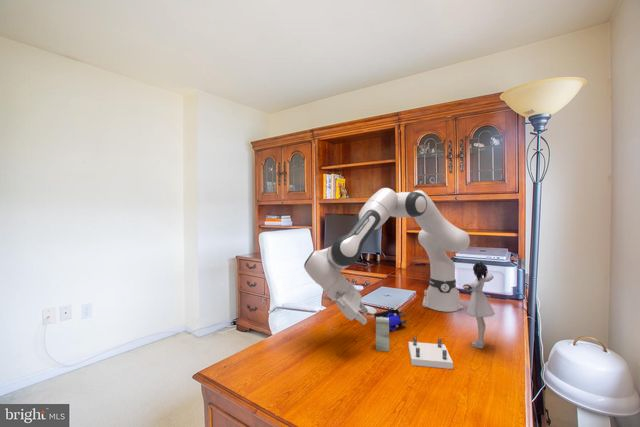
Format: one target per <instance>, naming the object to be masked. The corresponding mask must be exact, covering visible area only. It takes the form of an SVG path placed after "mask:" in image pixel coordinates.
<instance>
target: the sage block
mask: <svg viewBox="0 0 640 427" xmlns="http://www.w3.org/2000/svg"><path fill="white" fill-rule="evenodd" d="M375 351H380V352H390V329H389V318H384V317H376V321H375Z"/></svg>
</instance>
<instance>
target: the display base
mask: <svg viewBox="0 0 640 427" xmlns="http://www.w3.org/2000/svg"><path fill="white" fill-rule="evenodd" d="M412 339H413V341H408V350H409V351H408V352H409V357H410V358H409V359H410V361H411V366H416V367H417V366H418V367H425V368H426V367H427V368H438V369H446V370H447V369H448V370H454V362H453V360H452V358H451V356H450V354H449V351H448V349H447V347H446V344H442V339H441V338H437V343H429V342H418V337H417V336H413V338H412Z"/></svg>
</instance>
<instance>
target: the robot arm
mask: <svg viewBox="0 0 640 427" xmlns="http://www.w3.org/2000/svg"><path fill="white" fill-rule="evenodd" d="M389 218H413V219H414V220H415V222H416V224H418V226H419V227H420V229H421V230H420V231H419V232H418V235H417V239H418V243H419V244H420V245H421V246H422V247H423V249H424V250H425V252H426V255H427V256H428V259H429V260H428V261H429V266H430V277H429V280H428V281H429V283H428V285H429V286H428V288H427V289H425V290H424V292H423V294H424V296H423V300H422V305H421V306H422V307H424V308H429V309H431V310H434V311H437V312H438V311H439V312H457V311H458V310H462V309H464V305H463V304H461V303H460V302H461V301H460V298H461V297H460V291H459V290H458V289H457V280H456V265H455V263H454V261H453V260H452V258H450V257H449V256H448V255H447V253H446V252H453V253H458V252H464V251H466V250H467V249H468V248H469V246H470V243H471V242H470V241H471V238H470V235H469V234H468V232H467V231H465V230H463V229H461V228H458V227H457V226H456V225H454V224H452V223H451V222H450V221H449V220H447V218H445V217H444V216H443V215H442V213H441V212H440V211H439V208H438V207H437V206H436V204H435V203H434V201H433V200H432V199H431V197H430V196H428V194H427V193H426V192H424V190H419V189H417V190H416V189H415V190H413V191H399V192H396V191H394V190H393V189H391V188H389V187H382V188H379V190H377V191H376V192H375V193H373V195H371V196H370V198H368V200H367V201H365V203H364V205H363V206H362V207H361V209H360V211H359V213H358V221H357V223H356V224H355V225H354V227H353V228H352V229H351V230H350V231H348V233H347V234H344V235H343V236H340V237H338V238H337V239H335V240H334V242H333V244H332V245H331V246H328V247H326V248H323V249H320V250H313V251H312V252H311V253H310V255H309V256H308V257H307V258H306V260H305V262H304V264H303V268H304V270H305V272H306V274H308V276H309V277H310V278H311V279H312V280H313V282H315V283H316V284H317V285H319V286H320V287H321V289H322V290H323V292H324V293H325V294H326V295H327V296H328V297H329V298H330V300H332V301H333V302H336V305H337V307H338V309H339V310H340V311H341V313H343V315H344V316H345V317H346V318H347V319H348V320H349V321H353V320H354V319H355V320H357V321H358V322H360V323H361V324H362V325H366V324H367V323H368V319H367V318H366V317H365V316H363V315H362V314H361V312H362V313H363V314H364V315H367V314H368V313H369V309H368V307H366V306H365V304H364V302H363V301H362V296H363V295H362V294H361V292H359V290H358V289H357V288H356V287H355V286H354V284H352V283H351V281H352V280H350V278H348V277H346V276H344V275H343V274H342V271H343V270H345V269H347V268H348V267H350V266H352V265H354V264H356V262H358V260H359V259H360V257H361V254H362V248H363V245H364V243H365V242H366V241H367V240H368V238H369V237H370V236H371V234H372V233H373V231H375V230H378V229H379V228H380V227H381V226H383V225H384V224H385V223H386V221H388V219H389ZM360 310H361V312H360Z"/></svg>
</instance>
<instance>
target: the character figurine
mask: <svg viewBox="0 0 640 427" xmlns="http://www.w3.org/2000/svg"><path fill="white" fill-rule="evenodd" d="M373 316H374V320H375V322H376V317H384V318H389V330H390V331H392V332H395V331H396V329H397V328H401V327H403V325H406V324H407V321H408V320H407V319H404V320H402V318H404V317H406V316H407V315H406V314H404V313H403V311H402V310H401V311H400V310H399V309H398V308H397V309H390V310H386V311H381V312H376V313H373Z"/></svg>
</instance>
